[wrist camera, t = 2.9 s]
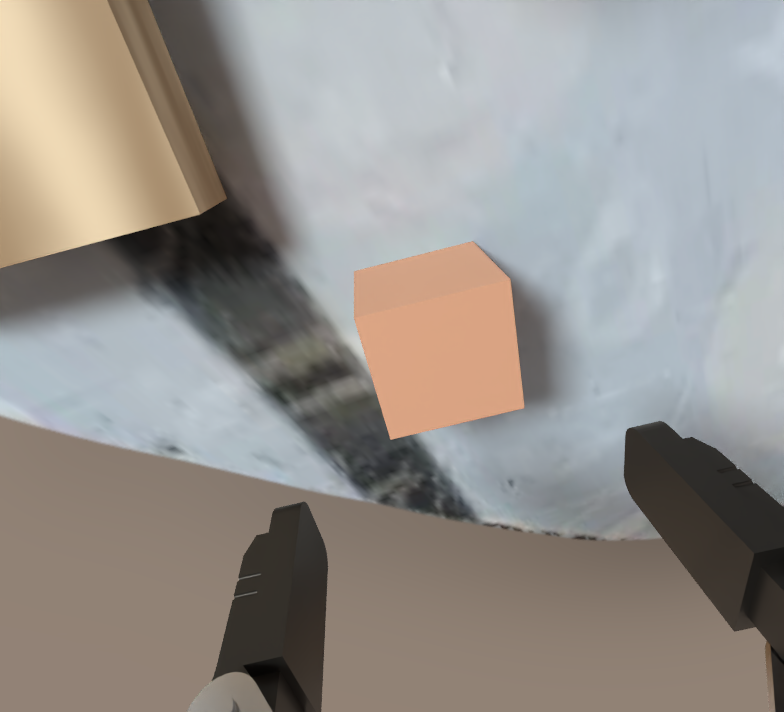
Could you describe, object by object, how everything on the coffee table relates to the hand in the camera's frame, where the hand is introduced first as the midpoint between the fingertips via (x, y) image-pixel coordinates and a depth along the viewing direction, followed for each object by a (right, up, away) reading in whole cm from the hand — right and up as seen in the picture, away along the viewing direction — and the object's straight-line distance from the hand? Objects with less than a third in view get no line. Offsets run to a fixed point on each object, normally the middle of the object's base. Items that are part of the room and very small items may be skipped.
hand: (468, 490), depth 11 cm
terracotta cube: (0, +6, +10) cm, 12 cm away
